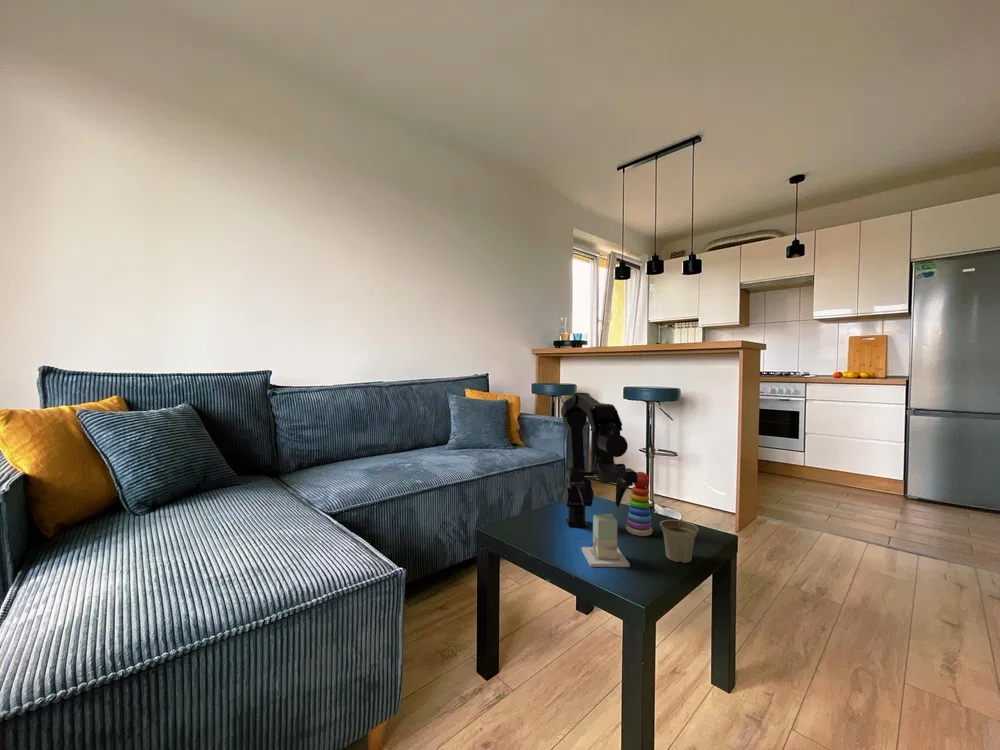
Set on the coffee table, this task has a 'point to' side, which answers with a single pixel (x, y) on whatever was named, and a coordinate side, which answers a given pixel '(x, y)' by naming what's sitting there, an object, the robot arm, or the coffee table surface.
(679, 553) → the flower pot
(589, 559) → the plate
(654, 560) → the coffee table surface
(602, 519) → the block sage
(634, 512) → the stacking toy
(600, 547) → the block birch
